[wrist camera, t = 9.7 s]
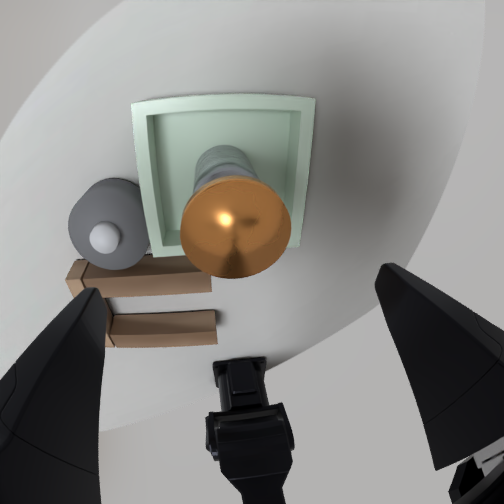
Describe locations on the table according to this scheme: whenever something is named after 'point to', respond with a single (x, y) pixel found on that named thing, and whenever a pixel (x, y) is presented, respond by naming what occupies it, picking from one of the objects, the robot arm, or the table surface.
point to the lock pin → (232, 217)
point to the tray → (213, 134)
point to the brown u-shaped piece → (150, 284)
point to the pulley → (110, 225)
